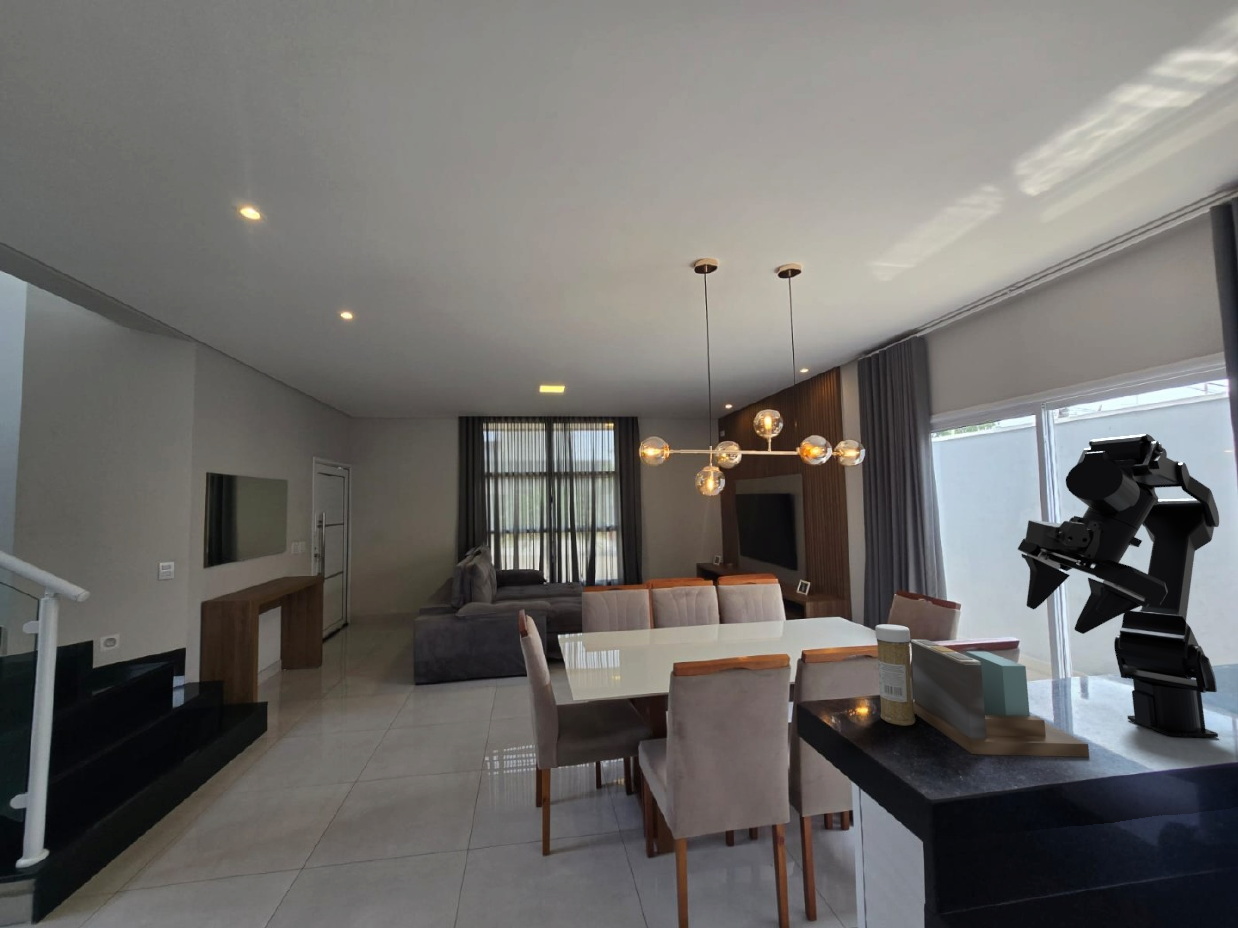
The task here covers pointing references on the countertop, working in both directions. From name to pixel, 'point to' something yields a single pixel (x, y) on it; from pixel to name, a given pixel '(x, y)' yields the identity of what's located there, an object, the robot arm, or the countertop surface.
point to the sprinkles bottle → (895, 674)
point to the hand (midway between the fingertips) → (1052, 619)
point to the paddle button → (1002, 685)
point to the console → (977, 709)
